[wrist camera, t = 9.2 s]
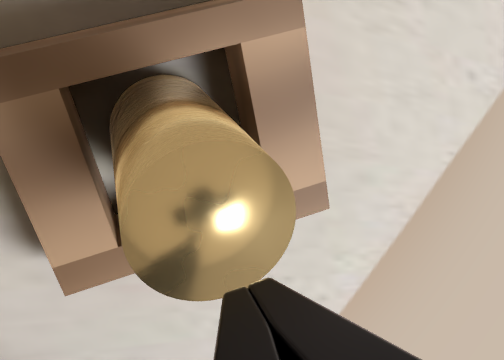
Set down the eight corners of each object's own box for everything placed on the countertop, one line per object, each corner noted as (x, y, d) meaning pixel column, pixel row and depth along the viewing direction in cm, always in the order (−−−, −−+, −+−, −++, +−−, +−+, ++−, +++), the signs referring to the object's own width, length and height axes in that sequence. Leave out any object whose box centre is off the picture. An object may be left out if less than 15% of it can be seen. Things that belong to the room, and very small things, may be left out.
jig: (304, 183, 20) (329, 208, 18) (68, 258, 18) (65, 296, 16) (273, -14, 17) (300, -13, 15) (-21, 53, 15) (-41, 66, 13)
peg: (227, 161, 19) (307, 267, 12) (129, 191, 18) (150, 324, 11) (204, 62, 17) (280, 117, 10) (93, 91, 16) (93, 172, 9)
